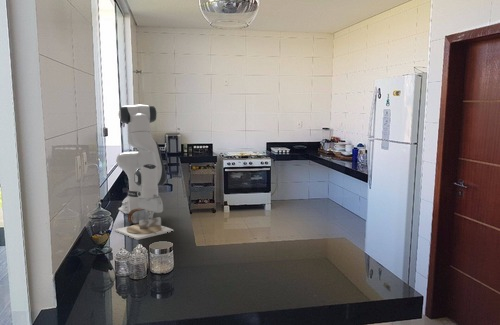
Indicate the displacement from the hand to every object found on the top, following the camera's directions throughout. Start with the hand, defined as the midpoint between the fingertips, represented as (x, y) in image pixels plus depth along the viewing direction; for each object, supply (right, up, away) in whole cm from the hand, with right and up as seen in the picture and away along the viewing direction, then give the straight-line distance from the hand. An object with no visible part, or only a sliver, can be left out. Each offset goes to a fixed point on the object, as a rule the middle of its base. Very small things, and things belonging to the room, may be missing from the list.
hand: (150, 218), depth 218 cm
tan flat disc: (-1, -5, -9) cm, 10 cm away
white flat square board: (-1, -6, -9) cm, 10 cm away
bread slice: (-8, -4, +9) cm, 12 cm away
